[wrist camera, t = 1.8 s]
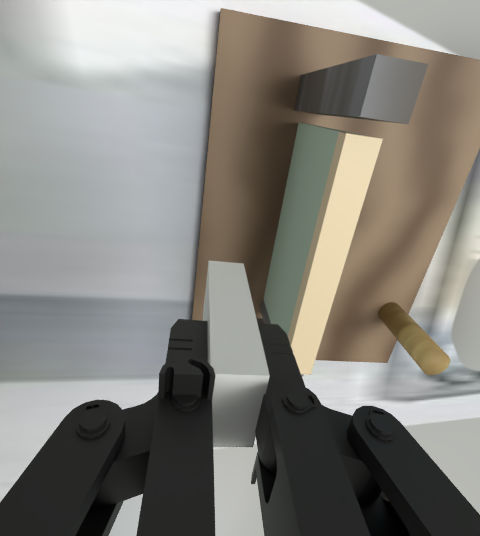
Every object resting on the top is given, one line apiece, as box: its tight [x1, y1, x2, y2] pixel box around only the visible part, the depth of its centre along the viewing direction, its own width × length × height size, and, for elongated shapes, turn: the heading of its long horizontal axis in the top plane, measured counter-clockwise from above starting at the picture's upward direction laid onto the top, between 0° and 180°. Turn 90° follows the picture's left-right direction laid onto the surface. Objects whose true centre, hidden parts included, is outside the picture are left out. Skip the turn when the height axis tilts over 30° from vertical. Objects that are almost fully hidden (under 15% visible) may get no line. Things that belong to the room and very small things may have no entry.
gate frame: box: [192, 8, 480, 375], centre depth 26 cm, size 23×30×13 cm
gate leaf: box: [260, 123, 383, 376], centre depth 25 cm, size 2×18×10 cm, turn 172°
